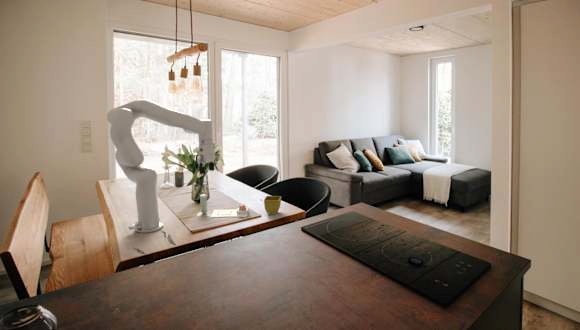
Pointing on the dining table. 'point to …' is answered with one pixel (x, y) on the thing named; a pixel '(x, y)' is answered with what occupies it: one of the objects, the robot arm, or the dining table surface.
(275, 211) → the flower pot
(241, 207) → the button
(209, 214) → the coaster
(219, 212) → the board
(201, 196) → the marker
